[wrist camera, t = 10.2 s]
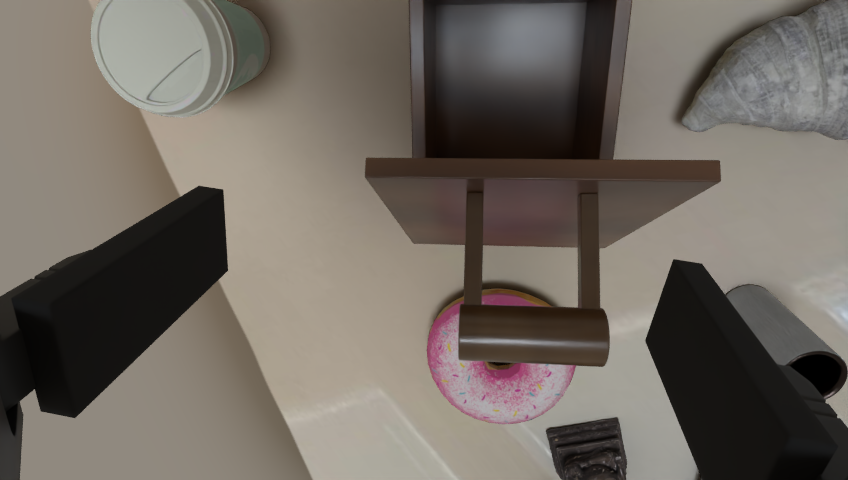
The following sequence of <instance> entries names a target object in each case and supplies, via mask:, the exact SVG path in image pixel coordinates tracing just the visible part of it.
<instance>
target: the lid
mask: <svg viewBox="0 0 848 480" xmlns="http://www.w3.org/2000/svg"><path fill="white" fill-rule="evenodd" d="M365 178H366V179H367V181H368V182H369V183H370V185H371V186H372V187H373V189H374V190H375V192H376V193H377V194H378V196H379V197H380V198H381V200H382V201H383V202H384V204H385V205H386V207H387V208H388V209H389V211H390V212H391V213H392V215H393V216H394V218H395V219H396V220H397V222H398V223H399V224H400V226H401V227H402V228H403V230H404V231H405V233H406V234H407V235H408V237H409V238H410V239H411V241H412V242H413V243H414V244H450V245H465V269H464V304H460V308H459V333H458V359H459V360H463V361H486V362H509V363H531V364H554V365H577V366H599V367H603V366H605V364H606V362H607V359H608V355H609V345H610V335H609V324H608V319H607V316H606V313H605V311H604V310H603V309H601V308H600V267H599V248H606V247H607V246H609V245H611V244H613V243H614V242H616V241H618V240H620V239H621V238H623V237H625V236H626V235H628V234H630V233H632V232H633V231H635V230H637V229H639V228H640V227H642V226H644V225H646V224H647V223H649V222H651V221H653V220H654V219H656V218H658V217H660V216H661V215H663V214H665V213H667V212H668V211H670V210H672V209H674V208H675V207H677V206H679V205H681V204H682V203H684V202H686V201H687V200H689V199H691V198H693V197H694V196H696V195H698V194H700V193H701V192H703V191H705V190H707V189H708V188H710V187H712V186H714V185H715V184H717V183H719V182H720V181H721V174H720V161H718V160H600V159H473V158H366V166H365ZM483 245H493V246H536V247H578V308H574V307H544V306H515V305H486V304H482V258H483Z"/></svg>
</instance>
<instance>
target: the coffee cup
mask: <svg viewBox="0 0 848 480" xmlns="http://www.w3.org/2000/svg"><path fill="white" fill-rule="evenodd" d="M91 43H92V49H93V53H94V56H95V59H96V62H97V64H98V67H99V69H100V70H101V72H102V74H103V76H104V78H105V79H106V80H107V82H108V83H109V84H110V86H111V87H112V88H113V89H114V90H115V91H116V92H117V93H118V94H119V95H120V96H121V97H123V98H124V99H125V100H127V101H128V102H130V103H131V104H133V105H135V106H137V107H139V108H141V109H144V110H147V111H149V112H152V113H154V114H157V115H161V116H167V117H190V116H195V115H198V114H201V113H203V112H205V111H207V110H208V109H210V108H211V107H213V106H214V105H215V104H216V103H217V102H218V101H219V100H220V99H221V97H222V96H224V95H225V94H227V93H229V92H231V91H232V90H234V89H236V88H238V87H239V86H241V85H243V84H245V83H246V82H248V81H250V80H251V79H253V78H255V77H256V76H258V75H259V74H260V73H261V72H262V71H263V70H264V68H265V67H266V65H267V63H268V60H269V56H270V40H269V36H268V33H267V31H266V28H265V27H264V25H263V23H262V22H261V20H260V19H259V18H258V17H257V16H256V15H255V14H254V13H252V12H251V11H250V10H248V9H246V8H244V7H241V6H239V5H236V4H234V3H231V2H229V1H226V0H100V2H99V4H98V5H97V7H96V10H95V12H94V15H93V19H92V24H91Z"/></svg>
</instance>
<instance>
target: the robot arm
mask: <svg viewBox="0 0 848 480" xmlns="http://www.w3.org/2000/svg"><path fill="white" fill-rule="evenodd" d="M227 271H228V263H227V246H226V229H225V212H224V195H223V190H222V189H216V188H209V187H203V186H198V187H196V188H195V189H193V190H191V191H189V192H188V193H186V194H184V195H183V196H181V197H179V198H178V199H176V200H174V201H173V202H171V203H169V204H168V205H166V206H164V207H163V208H161V209H159V210H158V211H156V212H154V213H153V214H151V215H150V216H148V217H146V218H145V219H143V220H141V221H139V222H138V223H136V224H134V225H133V226H131V227H129V228H128V229H126V230H124V231H123V232H121V233H119V234H118V235H116V236H114V237H113V238H111V239H109V240H108V241H106V242H104V243H103V244H101V245H99V246H97V247H96V248H94V249H93V250H89V251H86V252H83V253H80V254H77V255H74V256H71V257H68V258H66V259H64V260H62V261H61V262H59V263H57V264H55V265H54V266H52V267H50V268H49V270H45V271H43V272H42V273H40V274H38V275H36V276H35V278H34V279H30V280H28V281H27V282H24V283H23V284H21V285H19V286H18V287H16V288H14V289H12V290H11V291H9V292H7V293H6V294H4V295H2V296H0V480H20V464H21V446H22V445H21V444H22V428H23V412H22V409H21V406H20V402H19V401H20V400H22V399H23V398H24V397H25V396H27V395H28V394H29V393H30V392H31V391H33V390H34V389H35V391H36V395H37V398H38V402H39V406H40V409H41V411H42V412H47V413H52V414H57V415H63V416H67V417H72V418H75V417H77V416H78V415H79V414H80V413H81V412H82V411H83V410H84V409H85V408H86V407H87V406H88V405H89V404H90V403H91V402H92V401H93V400H94V399H95V398H96V397H97V396H98V395H99V394H100V393H101V392H103V391H104V390H105V388H107V387H108V386H109V385H110V384H111V383H112V382H113V381H114V380H115V379H116V378H117V377H118V376H119V375H120V374H121V373H122V372H123V371H124V370H125V369H126V368H127V367H128V366H129V365H130V364H132V363H133V362H134V361H135V360H136V359H137V358H138V357H139V356H140V355H141V354H142V353H143V352H144V351H145V350H146V349H147V348H148V347H149V346H150V345H151V344H152V343H153V342H154V341H155V340H156V339H157V338H159V337H160V336H161V335H162V334H163V333H164V332H165V331H166V330H167V329H168V328H169V327H170V326H171V325H172V324H173V323H174V322H175V321H176V320H177V319H178V318H179V317H180V316H181V315H182V314H183V313H184V312H185V311H187V309H189V308H190V307H191V305H193V304H194V303H195V302H196V301H197V300H198V299H199V298H200V297H201V296H202V295H203V294H204V293H205V292H206V291H207V290H208V289H209V288H210V287H211V286H212V285H213V284H214V283H215V282H216V281H218V280H219V279H220V278H221V277H222V276H223V275H224V274H225V273H226V272H227ZM645 341H646V344H647V346H648V349H649V351H650V353H651V356H652V358H653V361H654V363H655V366H656V368H657V370H658V373H659V375H660V378H661V380H662V383H663V385H664V387H665V390H666V392H667V395H668V397H669V400H670V402H671V405H672V407H673V409H674V412H675V414H676V417H677V419H678V422H679V424H680V426H681V429H682V431H683V434H684V436H685V439H686V441H687V443H688V446H689V448H690V451H691V453H692V456H693V458H694V460H695V463H696V465H697V468H698V470H699V473H700V475H701V477H702V480H848V428H847V426H846V425H845V424H844V423H843V421H842V420H841V419H839V418H837V414H836V413H835V411H834V410H833V409H832V408H831V406H830V405H829V404H826V403H825V401H826V400H825V399H824V398H823V396H822V395H821V394H820V393H819V391H818V390H817V389H816V388H815V386H814V385H813V384H812V383H811V382H810V381H808V380H807V379H806V378H805V377H803V376H802V375H801V374H799V373H798V372H797V371H795V370H794V369H793V368H792V367H790V366H785V365H779V364H776V362H775V361H774V360H773V358H772V357H771V356H770V354H769V353H768V352H767V350H766V349H765V348H764V346H763V345H762V344H761V342H760V341H759V340H758V338H757V337H756V336H755V334H754V333H753V331H752V330H751V329H750V327H749V326H748V325H747V323H746V322H745V321H744V319H743V318H742V317H741V315H740V314H739V313H738V311H737V310H736V309H735V307H734V306H733V305H732V303H731V302H730V301H729V299H728V298H727V297H726V295H725V294H724V293H723V291H722V290H721V289H720V287H719V286H718V285H717V283H716V282H715V281H714V279H713V278H712V277H711V275H710V274H709V273H708V271H707V270H706V269H705V267H704V266H703V265H702V264H700V263H694V262H687V261H681V260H674V259H673V262H672V265H671V268H670V271H669V274H668V277H667V279H666V282H665V285H664V288H663V291H662V294H661V297H660V300H659V303H658V305H657V308H656V311H655V314H654V317H653V320H652V323H651V326H650V329H649V331H648V334H647V337H646V340H645Z"/></svg>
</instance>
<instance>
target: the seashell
mask: <svg viewBox="0 0 848 480" xmlns="http://www.w3.org/2000/svg"><path fill="white" fill-rule="evenodd" d="M682 123H683V125H684V126H686V127H687V128H688V129H689V130H692V131H695V132H702V131H706V130H708V129H710V128H712V127H714V126H716V125H719V124H724V123H740V124H742V125H749V124H753V125H755V126H758V127H771V128H773V129H775V130H780V131H815V132H818V133H821V134H823V135H825V136H827V137H830V138H833V139H835V140H846V139H848V0H828V1H826V2H824V3H821V4H819V5H816V6H812V7H811V8H809V9H808V10H807V11H806V12H804V13H802V14H800V15H798V16H782V17H779V18H777V19H774V20H772V21H769V22H767V23H766V24H764V25H763V26H761V27H759V28H757V29H755V30H753V31H752V32H750V33H749V34H747V35H745V36H743V37H741V38H740V39H738V40H736V41H735V42H734V43H733V45H732V46H730V47H729V48H728V49H726V50H725V52H724V54H723V55H722V57H721V58H720V59H719V60H718V61H717V63H716V65H715V66H714V67H713V68H712V70H711V73H710V75H709V77H708V78H707V79H706V80H705V82H704V83H703V84H702V86H701V87H700V88H699V89H698V91H697V92H696V95H695V97H694V100H693V102H692V103H691V105H690V106H689V108H688V109H687V111H686V113H685V115H684V116H683V118H682Z"/></svg>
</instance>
